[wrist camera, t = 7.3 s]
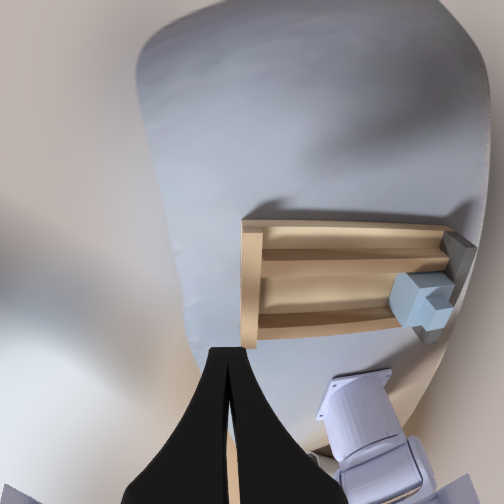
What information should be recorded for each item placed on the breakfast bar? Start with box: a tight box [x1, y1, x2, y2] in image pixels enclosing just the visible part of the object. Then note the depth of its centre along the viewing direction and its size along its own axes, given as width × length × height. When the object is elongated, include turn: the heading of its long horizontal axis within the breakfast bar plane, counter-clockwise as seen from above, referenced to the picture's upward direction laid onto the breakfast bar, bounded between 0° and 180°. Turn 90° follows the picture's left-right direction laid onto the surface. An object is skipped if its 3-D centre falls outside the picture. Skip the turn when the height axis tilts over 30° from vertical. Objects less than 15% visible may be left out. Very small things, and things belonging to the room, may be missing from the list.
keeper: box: [387, 271, 455, 331], centre depth 20 cm, size 4×4×5 cm
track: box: [240, 220, 477, 349], centre depth 20 cm, size 10×18×4 cm, turn 88°
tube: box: [306, 451, 340, 478], centre depth 43 cm, size 5×5×25 cm
